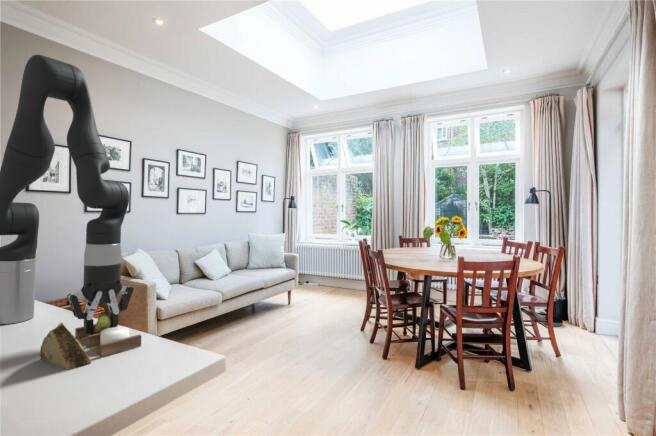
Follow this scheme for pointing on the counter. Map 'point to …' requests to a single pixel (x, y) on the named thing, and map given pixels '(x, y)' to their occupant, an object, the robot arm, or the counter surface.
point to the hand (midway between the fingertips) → (101, 331)
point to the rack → (109, 347)
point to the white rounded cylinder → (113, 334)
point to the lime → (102, 323)
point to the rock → (63, 349)
